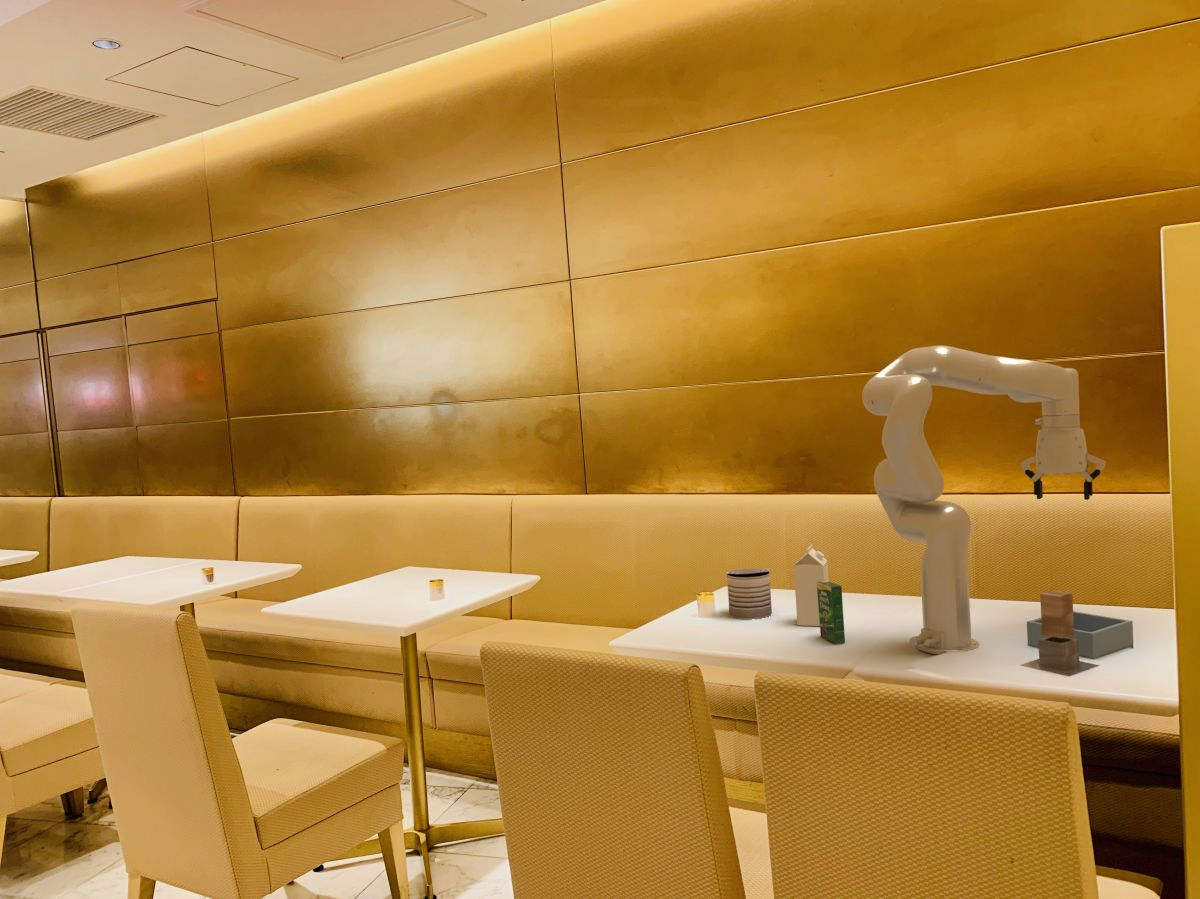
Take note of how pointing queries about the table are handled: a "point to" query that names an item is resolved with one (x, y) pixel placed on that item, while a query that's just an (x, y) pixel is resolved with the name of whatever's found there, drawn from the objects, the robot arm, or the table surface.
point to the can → (749, 594)
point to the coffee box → (831, 611)
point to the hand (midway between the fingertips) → (1063, 498)
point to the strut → (1058, 631)
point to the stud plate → (1068, 672)
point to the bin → (1091, 634)
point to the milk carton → (809, 586)
